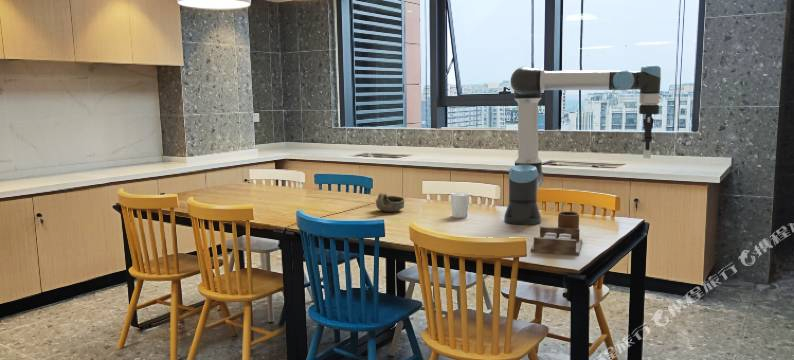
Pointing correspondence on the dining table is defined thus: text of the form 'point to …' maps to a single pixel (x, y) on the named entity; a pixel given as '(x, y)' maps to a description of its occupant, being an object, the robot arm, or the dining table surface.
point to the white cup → (459, 204)
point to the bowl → (389, 202)
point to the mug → (568, 220)
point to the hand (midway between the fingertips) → (646, 156)
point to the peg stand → (557, 241)
